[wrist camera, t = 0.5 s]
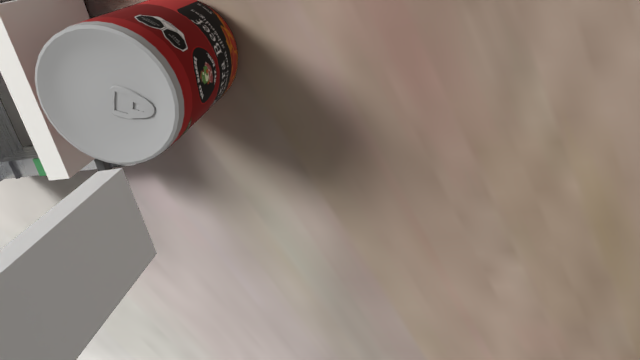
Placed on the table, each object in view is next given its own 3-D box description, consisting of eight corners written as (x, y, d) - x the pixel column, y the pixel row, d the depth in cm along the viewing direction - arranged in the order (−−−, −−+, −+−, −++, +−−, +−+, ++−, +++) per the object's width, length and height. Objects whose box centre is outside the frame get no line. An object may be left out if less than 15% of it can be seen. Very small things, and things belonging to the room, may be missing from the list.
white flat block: (59, -10, 36) (-28, 9, 29) (78, -14, 35) (-5, 5, 28) (124, 165, 41) (65, 216, 34) (141, 163, 41) (85, 215, 34)
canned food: (248, 101, 38) (191, 167, 28) (145, 103, 39) (57, 165, 29) (233, -11, 34) (163, 20, 24) (121, -5, 35) (12, 26, 26)
